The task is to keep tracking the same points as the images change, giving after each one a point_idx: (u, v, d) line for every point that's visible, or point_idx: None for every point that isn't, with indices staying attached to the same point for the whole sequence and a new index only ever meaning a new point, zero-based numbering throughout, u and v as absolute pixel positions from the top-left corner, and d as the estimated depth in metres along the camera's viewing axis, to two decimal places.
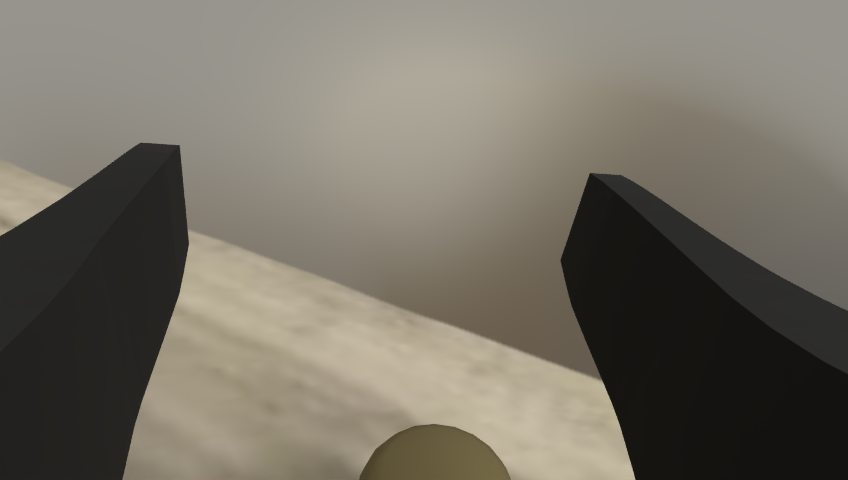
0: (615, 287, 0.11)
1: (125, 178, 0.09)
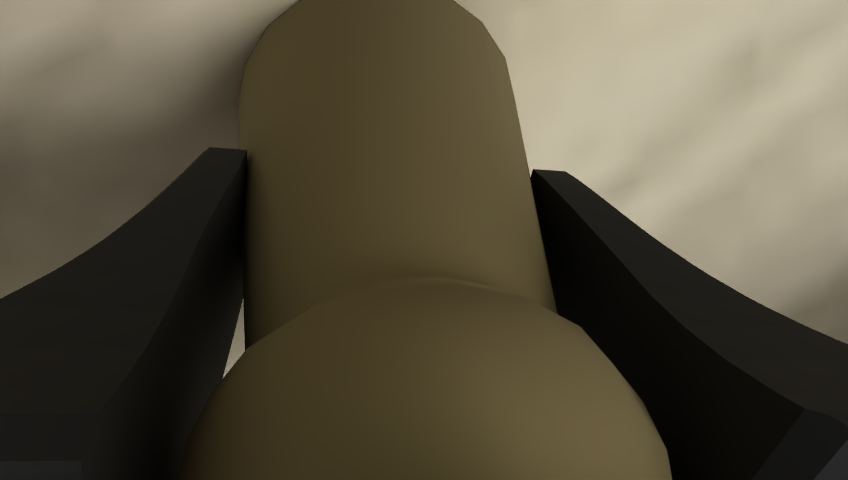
0: (553, 285, 0.10)
1: (206, 183, 0.09)
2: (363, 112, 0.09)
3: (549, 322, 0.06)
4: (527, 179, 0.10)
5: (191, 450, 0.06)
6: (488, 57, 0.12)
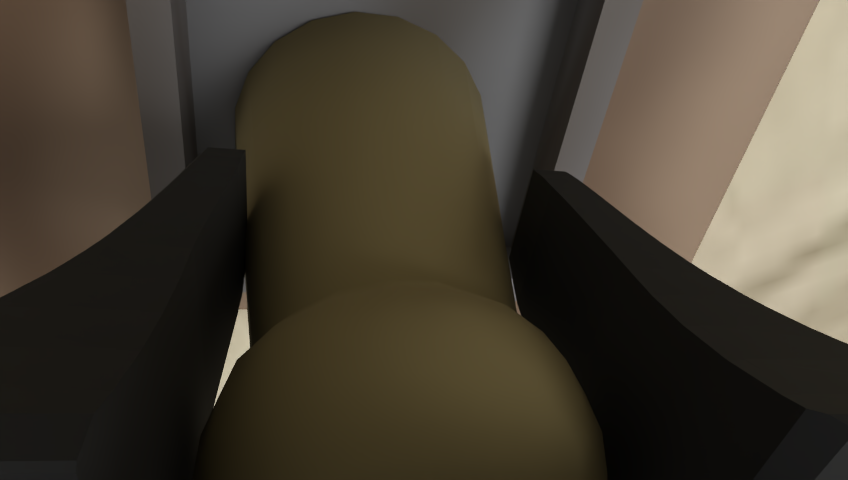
0: (553, 285, 0.10)
1: (204, 183, 0.09)
2: (368, 134, 0.11)
3: (522, 324, 0.08)
4: (498, 206, 0.12)
5: (227, 404, 0.07)
6: (470, 95, 0.14)
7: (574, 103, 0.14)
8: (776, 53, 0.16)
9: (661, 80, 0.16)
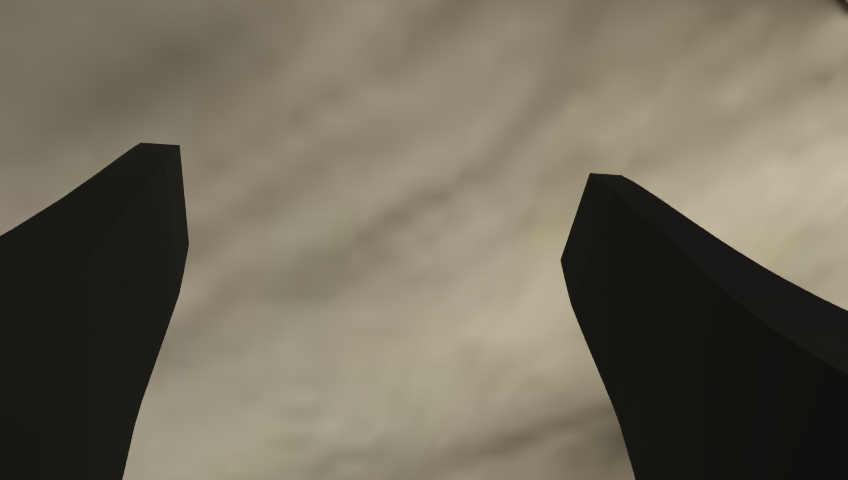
0: (615, 287, 0.11)
1: (125, 178, 0.09)
2: None
3: None
4: None
5: None
6: None
7: None
8: None
9: None
